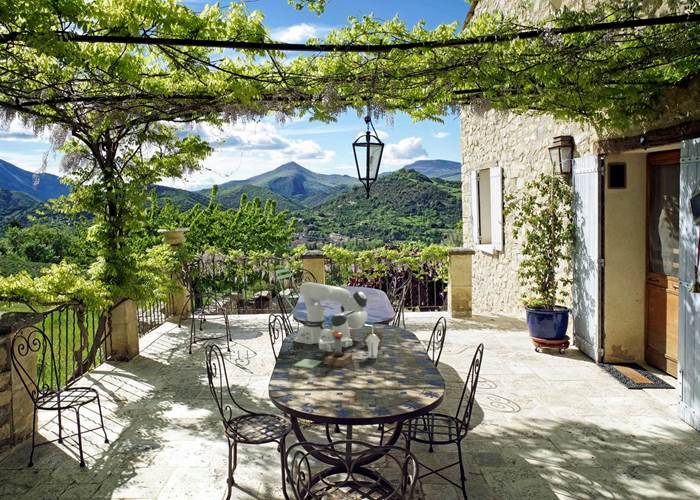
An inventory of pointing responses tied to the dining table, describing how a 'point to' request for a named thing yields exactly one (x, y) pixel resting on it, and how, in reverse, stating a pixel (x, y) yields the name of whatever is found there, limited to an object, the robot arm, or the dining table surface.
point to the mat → (307, 363)
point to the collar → (338, 359)
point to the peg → (338, 343)
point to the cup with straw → (372, 344)
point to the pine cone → (379, 335)
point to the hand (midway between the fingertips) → (339, 346)
